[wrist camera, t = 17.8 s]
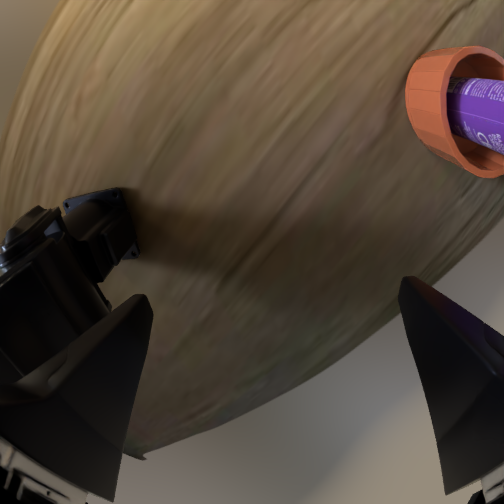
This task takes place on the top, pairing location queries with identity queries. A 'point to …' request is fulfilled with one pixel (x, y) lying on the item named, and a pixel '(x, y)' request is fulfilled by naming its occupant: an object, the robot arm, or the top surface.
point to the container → (477, 110)
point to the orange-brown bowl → (435, 105)
